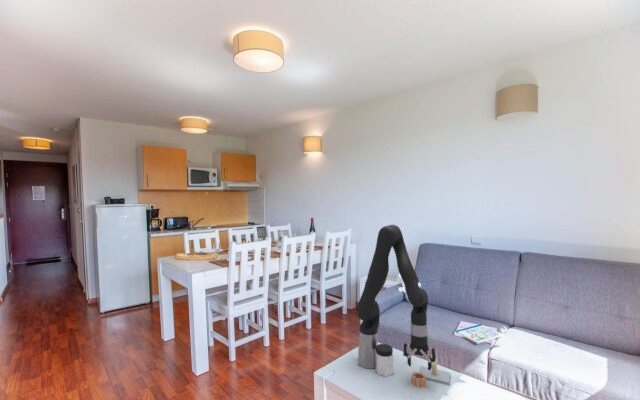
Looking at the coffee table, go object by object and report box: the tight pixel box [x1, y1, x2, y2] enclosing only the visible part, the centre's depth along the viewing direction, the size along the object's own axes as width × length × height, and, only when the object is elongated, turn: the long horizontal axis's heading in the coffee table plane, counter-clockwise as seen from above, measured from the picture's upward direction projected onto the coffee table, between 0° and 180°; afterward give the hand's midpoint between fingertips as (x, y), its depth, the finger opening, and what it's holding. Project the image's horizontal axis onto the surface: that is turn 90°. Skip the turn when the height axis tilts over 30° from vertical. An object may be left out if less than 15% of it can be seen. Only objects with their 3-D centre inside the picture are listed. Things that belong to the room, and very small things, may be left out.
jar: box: [375, 343, 394, 377], centre depth 156 cm, size 9×8×12 cm
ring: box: [411, 371, 427, 388], centre depth 146 cm, size 6×6×4 cm
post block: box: [418, 356, 451, 386], centre depth 152 cm, size 14×9×9 cm, turn 65°
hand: (419, 367), depth 146 cm, fingers open, 8 cm apart
